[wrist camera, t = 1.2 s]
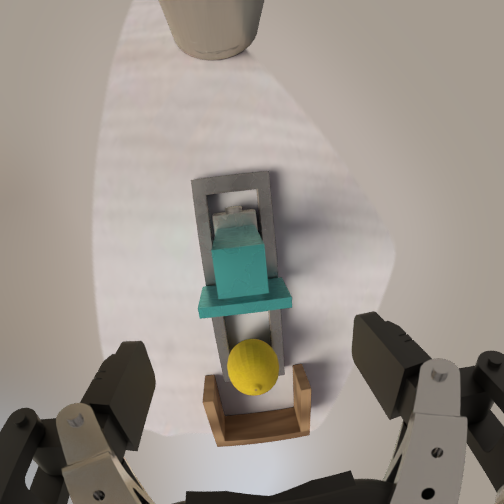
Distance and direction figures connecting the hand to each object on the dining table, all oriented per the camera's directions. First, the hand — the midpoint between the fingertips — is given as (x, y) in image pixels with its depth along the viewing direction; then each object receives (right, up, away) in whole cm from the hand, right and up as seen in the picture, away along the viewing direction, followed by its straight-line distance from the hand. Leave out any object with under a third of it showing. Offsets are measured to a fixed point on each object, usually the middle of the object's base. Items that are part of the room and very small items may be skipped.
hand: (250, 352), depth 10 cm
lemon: (0, -7, +23) cm, 24 cm away
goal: (+1, -15, +25) cm, 29 cm away
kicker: (-1, +5, +19) cm, 20 cm away
